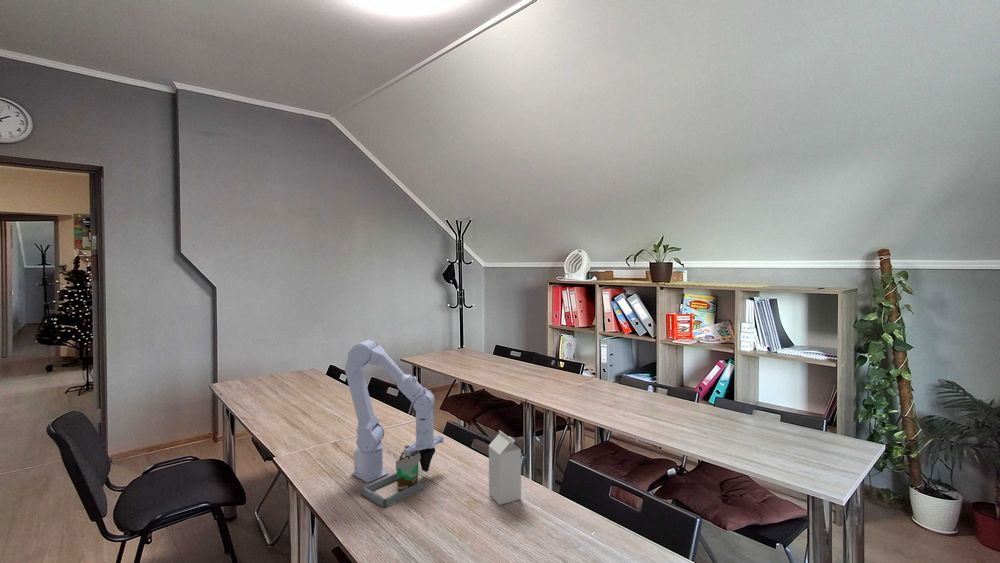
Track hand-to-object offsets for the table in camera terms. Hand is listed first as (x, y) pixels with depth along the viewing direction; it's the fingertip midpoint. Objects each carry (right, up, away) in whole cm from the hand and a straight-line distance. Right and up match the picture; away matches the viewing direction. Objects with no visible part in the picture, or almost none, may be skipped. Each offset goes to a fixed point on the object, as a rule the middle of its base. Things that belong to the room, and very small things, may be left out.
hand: (425, 470), depth 148 cm
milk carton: (+26, -3, -13) cm, 29 cm away
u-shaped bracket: (-9, -2, -10) cm, 13 cm away
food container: (-4, -2, -5) cm, 7 cm away
